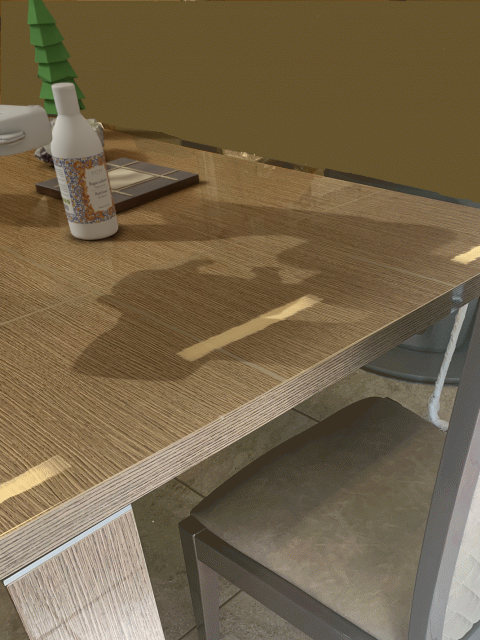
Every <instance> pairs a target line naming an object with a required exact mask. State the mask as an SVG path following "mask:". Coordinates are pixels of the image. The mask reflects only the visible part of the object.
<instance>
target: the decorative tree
mask: <svg viewBox="0 0 480 640" xmlns="http://www.w3.org/2000/svg"><path fill="white" fill-rule="evenodd" d="M27 3H28V8H27V10H28V11H27V22H26V23H27V24H26V25H29V43H30V45H32V46H34V63H38V66H37V79H40V80H41V81H42V82H41V86H40V93H39V96H38V97H39V99H42V100H44V102H43V108H44V109H45V111H46V113H47V115H56V116H58V112H57V109H56V105H55V100H54V96H53V92H52V87H51V86H52V85H53V84H56V83H73V84H74V86H75V90H76V95H77V99H78V104H79V109H80V112H82V111H84V110H86V109H87V108H86V106H85V104H84V103H83V101H82V100H83V99H86V96H85V94H84V92H83V91H82V90H81V88H80V87H79V85H78V84H77V82H76V81H75V79H77V78H79V76H78V75H77V73H76V71H75V70H74V68H73V66H72V65H71V63H70V61H69V60H68V59H70V58H72V56H71V54H70V53H69V51H68V49H67V48H66V46H65V44H64V43H63V41H65V38H64V36H63V34H62V33H61V32H60V29H59V28H58V26H57V25H56V24H57V23H58V22H57V21H56V19H55V18H54V17H53V15H52V14H51V12H50V10H49V9H48V7H47V6H46V4H45V3H44V1H43V0H28V1H27Z"/></svg>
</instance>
